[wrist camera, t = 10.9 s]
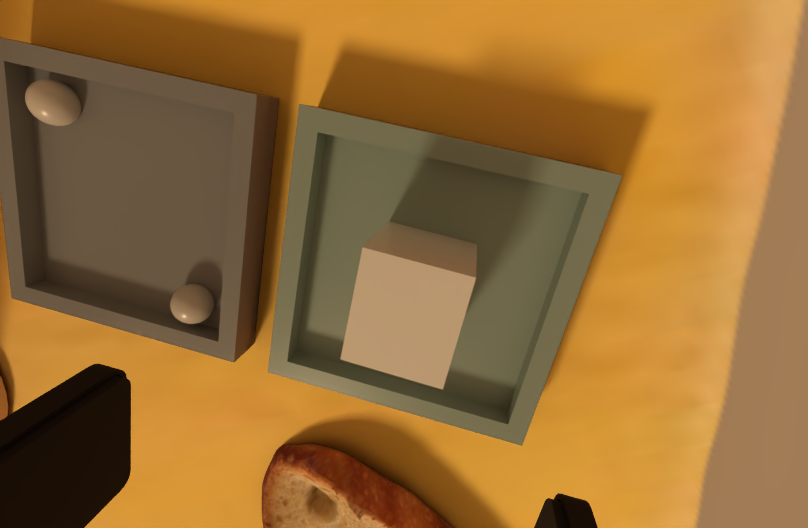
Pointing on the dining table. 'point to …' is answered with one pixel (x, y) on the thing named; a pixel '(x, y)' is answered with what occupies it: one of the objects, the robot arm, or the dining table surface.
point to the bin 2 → (446, 215)
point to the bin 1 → (135, 196)
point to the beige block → (410, 303)
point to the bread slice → (336, 493)
